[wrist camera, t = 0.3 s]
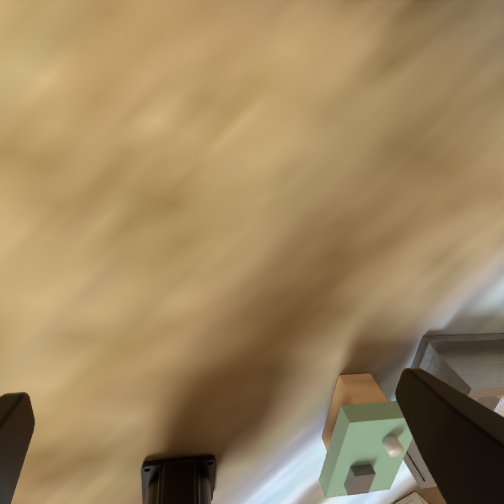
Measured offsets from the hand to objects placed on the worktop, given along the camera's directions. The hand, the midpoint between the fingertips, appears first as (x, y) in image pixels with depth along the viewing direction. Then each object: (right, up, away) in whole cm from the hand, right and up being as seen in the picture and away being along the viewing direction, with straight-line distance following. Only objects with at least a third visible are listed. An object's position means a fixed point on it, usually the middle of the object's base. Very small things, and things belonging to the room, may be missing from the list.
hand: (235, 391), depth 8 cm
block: (+9, -11, +23) cm, 27 cm away
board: (+10, -13, +20) cm, 25 cm away
